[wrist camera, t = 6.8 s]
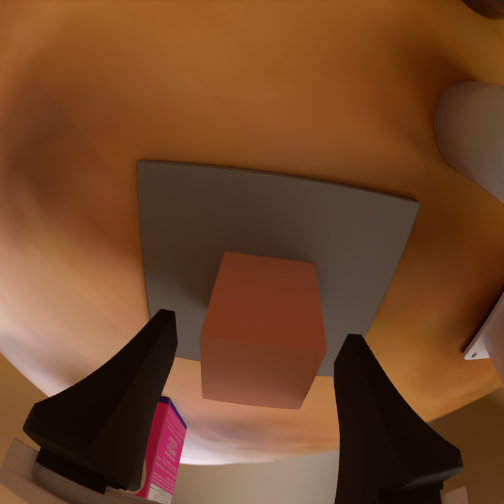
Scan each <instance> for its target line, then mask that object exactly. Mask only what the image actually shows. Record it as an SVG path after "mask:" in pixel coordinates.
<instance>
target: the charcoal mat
mask: <svg viewBox="0 0 504 504" xmlns="http://www.w3.org/2000/svg"><path fill="white" fill-rule="evenodd" d="M137 191H138V209H139V224H140V236H141V247H142V257H143V266H144V275H145V283H146V290H147V297H148V304H149V311H150V317H151V318H152V317H153V316H154V315H155V314H156V313H157V312H158V311H159V310H160V309H166V310H172V311H175V316H176V328H177V338H178V345H177V349H176V353H175V357H179V358H184V359H190V360H195V361H200V362H201V357H200V334H201V330H202V327H203V323H204V320H205V316H206V313H207V309H208V306H209V302H210V299H211V296H212V292H213V289H214V285H215V282H216V279H217V275H218V272H219V269H220V265H221V262H222V259H223V255H224V252H232V253H239V254H247V255H255V256H262V257H270V258H278V259H285V260H293V261H301V262H308V263H315V269H316V275H317V281H318V288H319V295H320V302H321V309H322V316H323V323H324V331H325V339H326V347H327V352H326V354H325V357H324V359H323V361H322V363H321V366H320V368H319V370H318V372H317V374H316V376H333V377H334V361H335V359H336V357H337V355H338V353H339V351H340V349H341V347H342V345H343V343H344V341H345V339H346V337H347V335H348V334H361V335H362V337H363V338H364V337H365V335H366V333H367V331H368V329H369V327H370V325H371V323H372V321H373V319H374V317H375V315H376V313H377V311H378V309H379V306H380V304H381V302H382V300H383V298H384V296H385V294H386V291H387V289H388V287H389V285H390V282H391V280H392V278H393V275H394V273H395V271H396V268H397V266H398V263H399V261H400V258H401V256H402V253H403V251H404V248H405V246H406V243H407V240H408V238H409V235H410V232H411V230H412V227H413V224H414V221H415V218H416V215H417V212H418V209H419V206H420V203H419V202H418V201H417V200H414V199H410V198H405V197H401V196H397V195H393V194H388V193H384V192H379V191H375V190H370V189H365V188H360V187H355V186H350V185H345V184H340V183H335V182H329V181H324V180H318V179H312V178H306V177H300V176H294V175H287V174H280V173H273V172H266V171H259V170H251V169H243V168H235V167H226V166H216V165H206V164H195V163H183V162H170V161H154V160H139V161H138V162H137Z"/></svg>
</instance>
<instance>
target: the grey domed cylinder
mask: <svg viewBox="0 0 504 504" xmlns="http://www.w3.org/2000/svg"><path fill="white" fill-rule="evenodd" d="M434 135H435V140H436V144H437V146H438V149H439V151H440V153H441V155H442V157H443V158H444V160H445V161H446V162H447V164H448V165H449V166H450V167H452V168H453V169H454V170H456V171H457V172H459V173H460V174H462V175H463V176H465V177H466V178H468V179H469V180H471V181H472V182H474V183H475V184H477V185H478V186H480V187H481V188H483V189H484V190H485V191H487V192H488V193H490V194H491V195H492V196H494V197H495V198H496V199H498V200H499V201H500V202H502V203H503V204H504V85H500V84H493V83H486V82H478V81H468V80H464V81H459V82H456V83H454V84H452V85H450V86H449V87H448V88H447V89H446V90H445V91H444V92H443V94H442V95H441V97H440V99H439V100H438V103H437V106H436V109H435V114H434Z"/></svg>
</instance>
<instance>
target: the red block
mask: <svg viewBox="0 0 504 504" xmlns="http://www.w3.org/2000/svg"><path fill="white" fill-rule="evenodd" d="M326 352H327V347H326V339H325V331H324V323H323V316H322V309H321V302H320V295H319V288H318V281H317V275H316V269H315V263H308V262H301V261H293V260H285V259H278V258H270V257H262V256H255V255H247V254H239V253H232V252H224V255H223V259H222V262H221V265H220V269H219V272H218V275H217V279H216V282H215V285H214V289H213V292H212V296H211V299H210V302H209V306H208V309H207V313H206V316H205V320H204V323H203V327H202V330H201V334H200V357H201V379H202V397H203V398H204V399H209V400H216V401H222V402H229V403H236V404H244V405H252V406H261V407H272V408H284V409H300V407H301V405H302V403H303V401H304V399H305V397H306V395H307V393H308V391H309V389H310V387H311V385H312V383H313V381H314V379H315V376H316V374H317V372H318V370H319V368H320V366H321V363H322V361H323V359H324V357H325V354H326Z"/></svg>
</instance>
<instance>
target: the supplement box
mask: <svg viewBox="0 0 504 504" xmlns="http://www.w3.org/2000/svg"><path fill="white" fill-rule="evenodd" d="M186 429H187V426H186V425H185V423H184V421H183V420H182V418H181V417H180V415H179V413H178V412H177V410H176V408H175V407H174V405H173V403H172V401H171V399H170V398H165V397H160V399H159V402H158V404H157V407H156V410H155V413H154V417H153V421H152V426H151V430H150V434H149V439H148V444H147V449H146V454H145V460H144V466H143V472H142V480H141V488H140V489H139V490H137V491H135V492H132V491H129V490H127V491H125V490H122V489H119V490H120V491H123V492H126V493H129V494H132V495H135V496H138V497H142V498H145V499H148V500H152V501H156V502H159V503H163V504H171V500H172V496H173V491H174V487H175V481H176V476H177V471H178V466H179V462H180V457H181V452H182V448H183V443H184V438H185V434H186Z"/></svg>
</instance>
